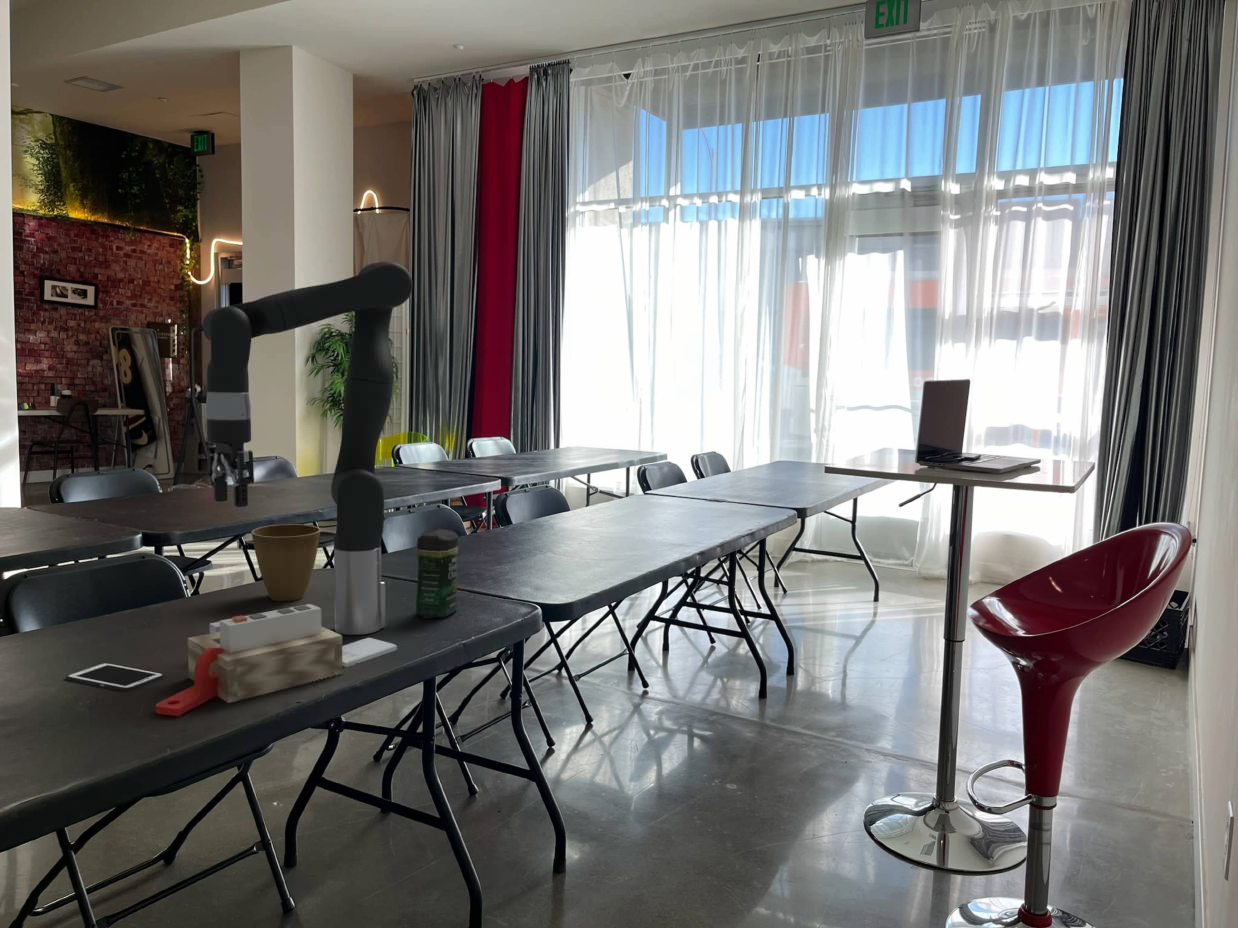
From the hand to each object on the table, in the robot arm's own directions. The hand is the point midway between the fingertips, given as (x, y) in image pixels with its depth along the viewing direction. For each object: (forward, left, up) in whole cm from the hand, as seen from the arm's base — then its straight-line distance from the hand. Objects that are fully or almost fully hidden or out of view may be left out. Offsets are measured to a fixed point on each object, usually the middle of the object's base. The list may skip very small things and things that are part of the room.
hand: (230, 503), depth 164 cm
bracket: (+16, +21, -28) cm, 39 cm away
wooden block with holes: (+2, +18, -28) cm, 33 cm away
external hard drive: (-16, +18, -29) cm, 37 cm away
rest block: (+2, +2, -28) cm, 28 cm away
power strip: (+2, +20, -25) cm, 32 cm away
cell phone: (+21, +2, -29) cm, 36 cm away
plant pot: (-25, -29, -28) cm, 48 cm away
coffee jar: (-43, +5, -28) cm, 52 cm away
